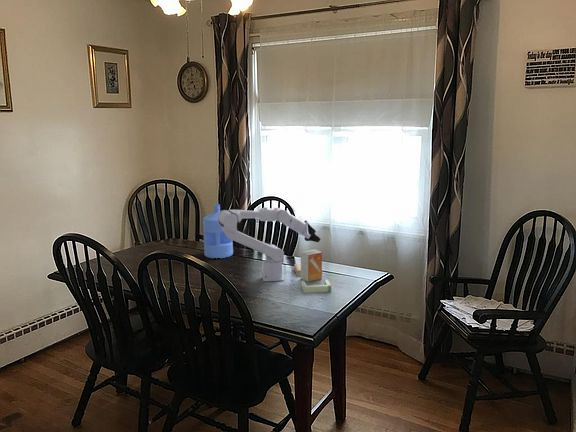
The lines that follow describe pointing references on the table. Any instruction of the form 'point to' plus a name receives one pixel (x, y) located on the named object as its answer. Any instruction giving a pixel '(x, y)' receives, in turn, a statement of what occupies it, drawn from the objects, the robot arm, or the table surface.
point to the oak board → (298, 269)
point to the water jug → (216, 237)
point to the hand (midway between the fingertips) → (316, 236)
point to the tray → (316, 287)
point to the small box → (311, 265)
